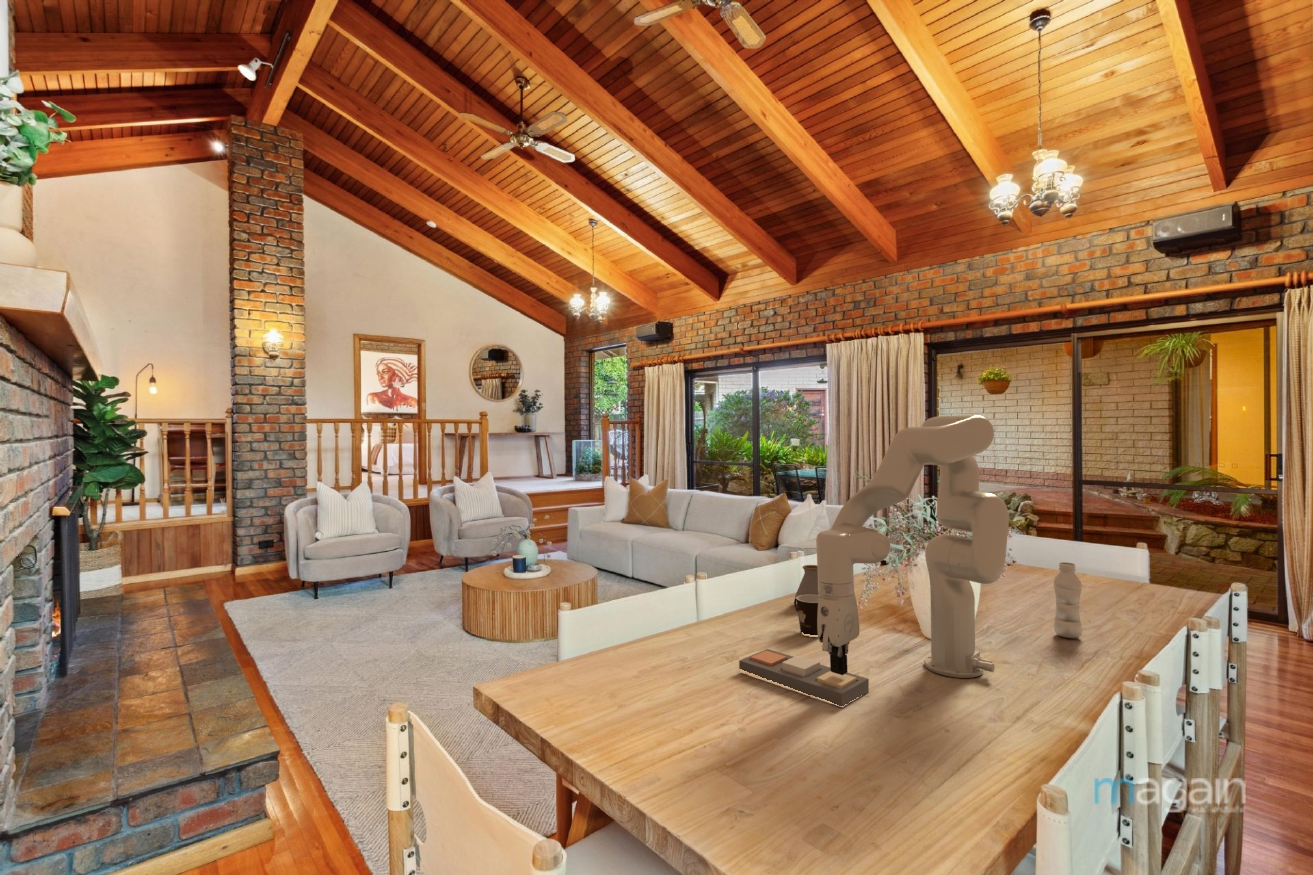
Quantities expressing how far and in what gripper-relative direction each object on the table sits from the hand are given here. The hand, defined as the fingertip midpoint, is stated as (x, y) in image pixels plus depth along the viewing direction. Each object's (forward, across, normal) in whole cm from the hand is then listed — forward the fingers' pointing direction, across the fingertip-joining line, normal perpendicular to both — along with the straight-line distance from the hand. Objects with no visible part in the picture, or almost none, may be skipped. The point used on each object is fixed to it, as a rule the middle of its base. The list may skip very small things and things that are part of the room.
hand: (839, 672), depth 135 cm
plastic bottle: (+7, +75, -25) cm, 79 cm away
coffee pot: (+6, +59, +40) cm, 72 cm away
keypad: (+4, -1, +9) cm, 10 cm away
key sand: (+3, -1, 0) cm, 3 cm away
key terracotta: (+3, -1, +18) cm, 19 cm away
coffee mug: (+5, +31, +27) cm, 42 cm away
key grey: (+2, -1, +9) cm, 10 cm away
